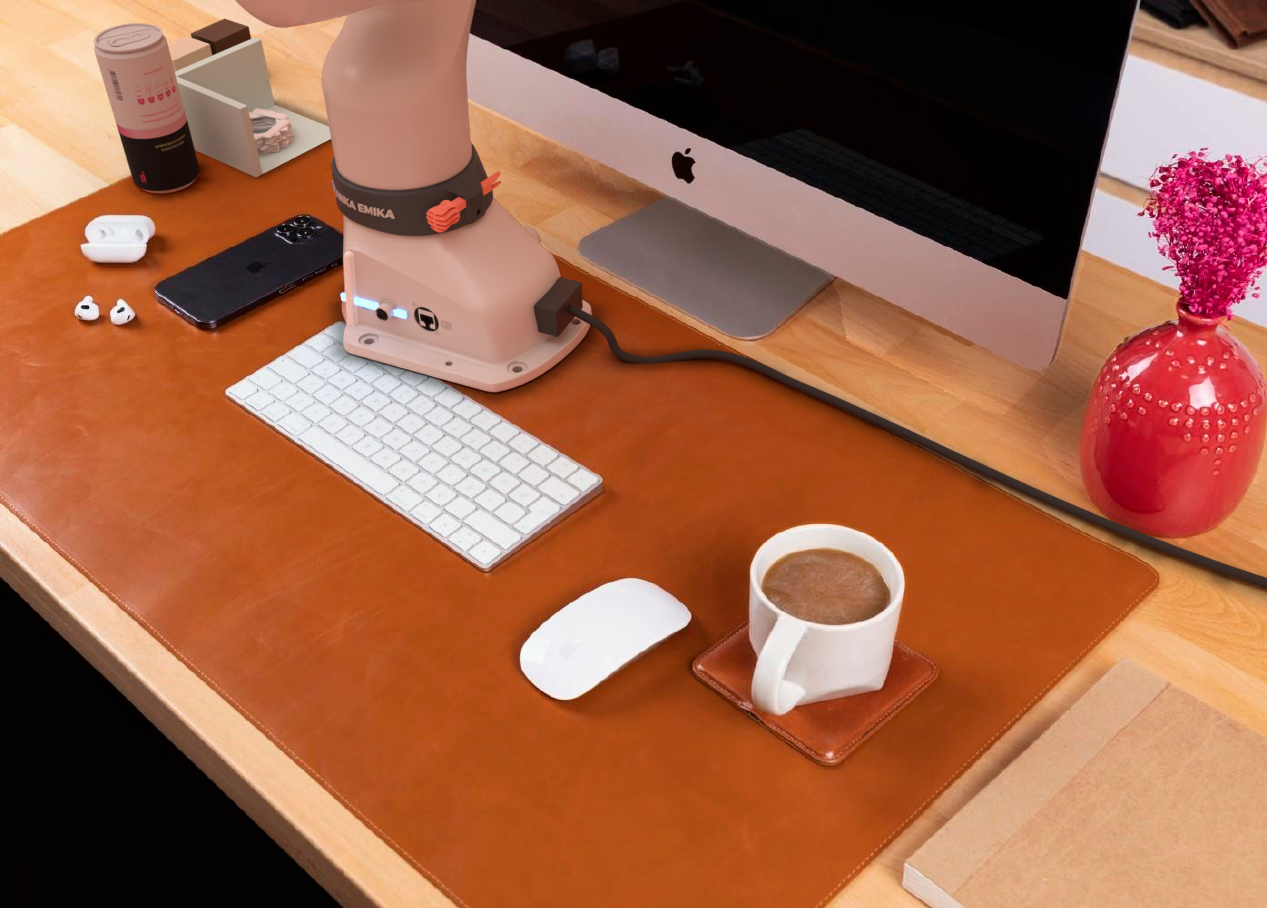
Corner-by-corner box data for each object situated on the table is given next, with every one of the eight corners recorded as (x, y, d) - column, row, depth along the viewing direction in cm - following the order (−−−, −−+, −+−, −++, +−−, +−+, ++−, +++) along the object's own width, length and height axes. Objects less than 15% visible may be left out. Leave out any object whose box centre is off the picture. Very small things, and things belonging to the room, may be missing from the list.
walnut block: (259, 76, 147) (248, 26, 143) (226, 92, 144) (214, 41, 140) (235, 68, 148) (224, 17, 144) (202, 83, 145) (190, 33, 141)
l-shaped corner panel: (255, 177, 129) (240, 108, 124) (180, 143, 135) (163, 76, 130) (343, 132, 136) (331, 65, 131) (268, 102, 142) (254, 37, 137)
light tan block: (221, 95, 143) (209, 43, 139) (187, 111, 140) (173, 60, 136) (197, 86, 145) (185, 35, 141) (162, 102, 142) (149, 51, 138)
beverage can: (124, 176, 129) (81, 34, 119) (184, 156, 132) (147, 16, 122) (150, 202, 126) (107, 57, 116) (211, 181, 129) (175, 38, 119)
